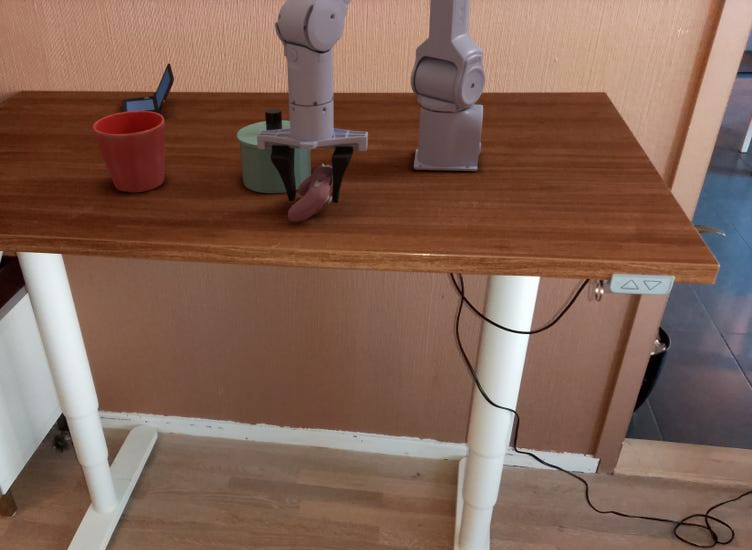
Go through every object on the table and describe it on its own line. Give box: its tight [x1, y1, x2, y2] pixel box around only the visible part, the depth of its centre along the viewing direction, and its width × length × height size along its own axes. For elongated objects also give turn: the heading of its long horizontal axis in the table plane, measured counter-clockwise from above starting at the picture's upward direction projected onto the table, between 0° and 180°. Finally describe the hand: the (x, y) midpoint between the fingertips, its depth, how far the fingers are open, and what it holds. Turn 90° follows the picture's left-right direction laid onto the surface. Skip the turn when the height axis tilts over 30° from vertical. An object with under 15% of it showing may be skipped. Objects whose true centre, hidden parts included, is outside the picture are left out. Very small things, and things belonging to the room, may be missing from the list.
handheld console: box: [121, 62, 175, 116], centre depth 141 cm, size 12×11×7 cm
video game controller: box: [287, 163, 333, 223], centre depth 99 cm, size 10×5×7 cm, turn 168°
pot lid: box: [236, 107, 290, 149], centre depth 106 cm, size 11×11×4 cm
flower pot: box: [92, 111, 166, 193], centre depth 110 cm, size 11×11×10 cm
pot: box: [239, 142, 312, 194], centre depth 109 cm, size 10×10×7 cm
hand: (313, 199), depth 100 cm, fingers closed on video game controller, 5 cm apart
